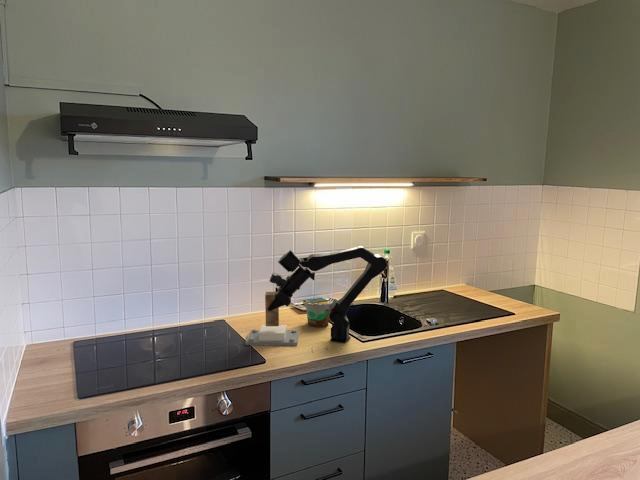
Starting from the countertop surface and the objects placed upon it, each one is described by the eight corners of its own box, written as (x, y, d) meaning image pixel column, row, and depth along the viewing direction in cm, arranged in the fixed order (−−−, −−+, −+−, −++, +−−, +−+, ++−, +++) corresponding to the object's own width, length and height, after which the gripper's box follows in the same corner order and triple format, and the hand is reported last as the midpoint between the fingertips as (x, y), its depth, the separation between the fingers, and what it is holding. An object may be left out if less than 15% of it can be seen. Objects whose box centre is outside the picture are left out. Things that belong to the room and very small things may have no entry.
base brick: (299, 333, 206) (299, 323, 205) (297, 345, 192) (297, 335, 191) (250, 332, 206) (250, 323, 205) (245, 345, 192) (245, 334, 191)
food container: (299, 325, 216) (299, 303, 214) (306, 321, 221) (306, 299, 220) (324, 329, 210) (324, 306, 208) (331, 325, 215) (331, 303, 214)
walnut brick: (278, 322, 198) (278, 291, 196) (278, 326, 193) (278, 294, 191) (266, 322, 198) (265, 291, 196) (265, 326, 193) (265, 295, 191)
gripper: (281, 261, 202) (255, 288, 203) (281, 271, 183) (252, 300, 184) (301, 279, 203) (274, 306, 204) (303, 291, 185) (273, 320, 186)
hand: (268, 308), depth 195 cm, fingers closed on walnut brick, 5 cm apart
